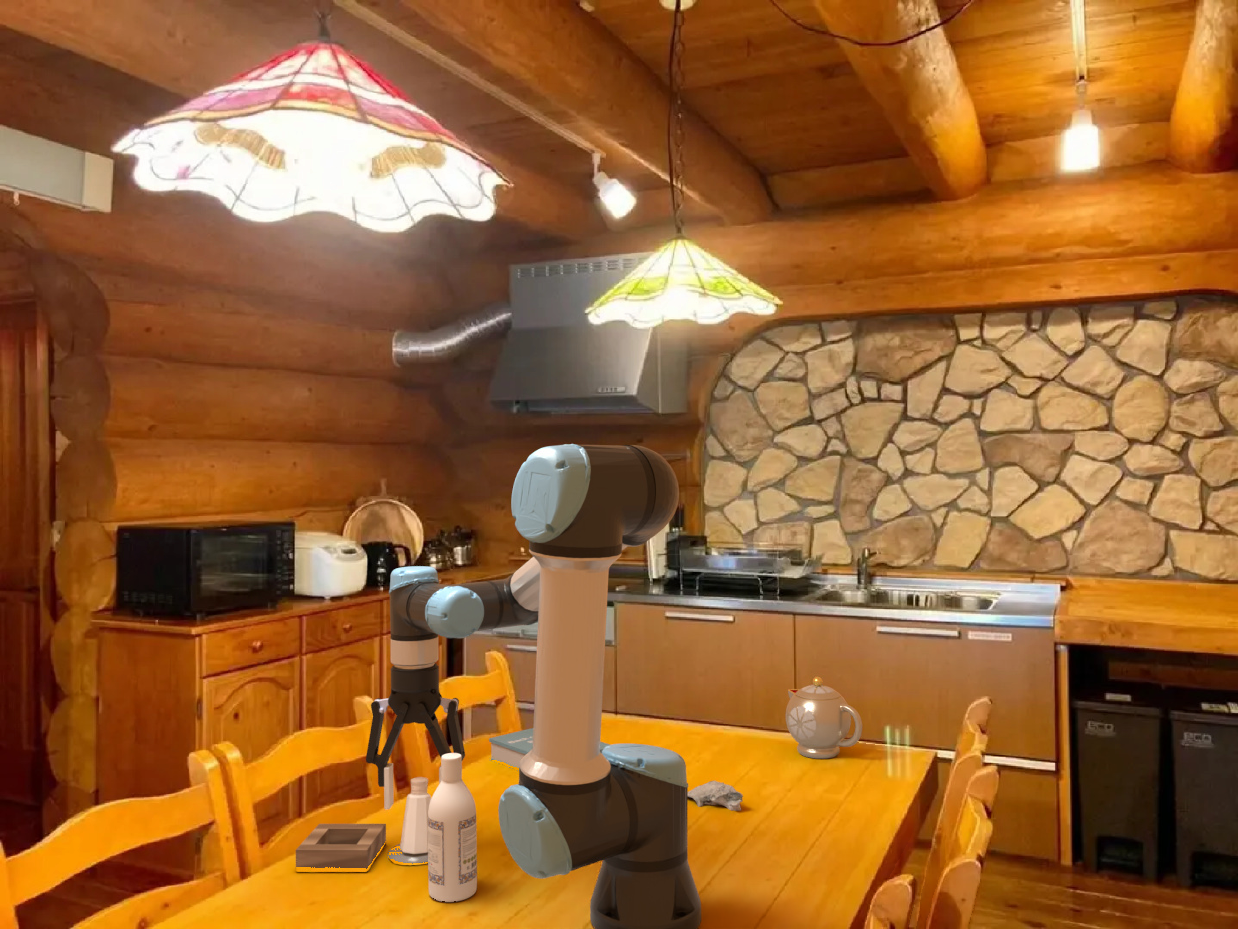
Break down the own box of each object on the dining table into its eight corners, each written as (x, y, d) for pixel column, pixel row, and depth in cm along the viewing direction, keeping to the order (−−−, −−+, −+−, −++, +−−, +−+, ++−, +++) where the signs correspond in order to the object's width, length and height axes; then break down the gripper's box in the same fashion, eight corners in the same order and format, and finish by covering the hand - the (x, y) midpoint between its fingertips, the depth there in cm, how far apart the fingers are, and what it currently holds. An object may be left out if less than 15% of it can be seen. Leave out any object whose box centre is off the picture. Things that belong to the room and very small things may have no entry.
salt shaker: (436, 844, 161) (438, 775, 162) (431, 854, 155) (434, 782, 156) (403, 844, 160) (405, 774, 162) (396, 854, 155) (399, 782, 156)
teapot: (770, 753, 210) (769, 676, 210) (806, 740, 220) (806, 667, 220) (844, 771, 198) (843, 689, 198) (879, 756, 208) (878, 678, 208)
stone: (714, 820, 173) (715, 796, 173) (679, 797, 184) (679, 775, 184) (745, 814, 176) (746, 791, 176) (708, 792, 187) (709, 770, 187)
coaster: (439, 866, 153) (439, 862, 153) (381, 866, 153) (381, 862, 153) (450, 844, 162) (450, 840, 162) (395, 844, 162) (395, 840, 162)
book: (489, 762, 208) (489, 738, 208) (549, 746, 219) (549, 724, 219) (557, 787, 191) (556, 761, 191) (618, 769, 202) (618, 745, 202)
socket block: (367, 873, 151) (367, 850, 151) (295, 873, 151) (295, 850, 151) (386, 845, 162) (385, 823, 162) (319, 845, 162) (319, 823, 162)
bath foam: (478, 881, 147) (476, 747, 147) (475, 902, 141) (474, 761, 141) (430, 884, 147) (429, 749, 147) (426, 905, 140) (425, 763, 140)
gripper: (483, 659, 161) (485, 798, 161) (356, 659, 162) (358, 798, 162) (476, 668, 154) (477, 814, 154) (342, 669, 154) (344, 814, 154)
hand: (416, 806), depth 158 cm, fingers open, 8 cm apart
